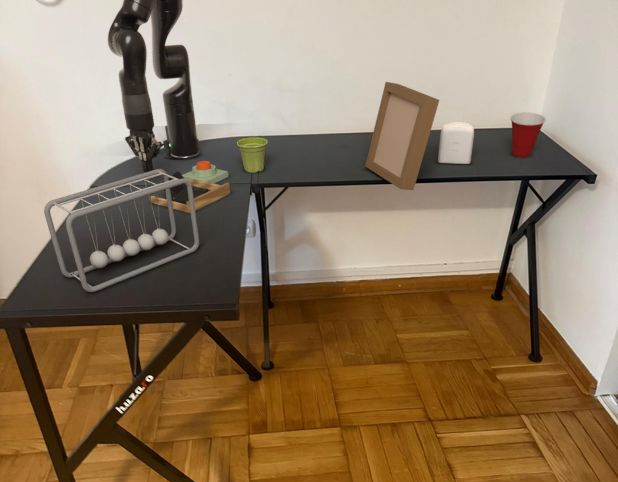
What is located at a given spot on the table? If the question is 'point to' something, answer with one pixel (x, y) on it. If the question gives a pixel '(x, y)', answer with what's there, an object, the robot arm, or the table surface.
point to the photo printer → (456, 143)
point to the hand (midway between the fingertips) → (148, 171)
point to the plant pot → (252, 153)
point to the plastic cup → (525, 132)
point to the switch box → (206, 174)
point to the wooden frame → (201, 200)
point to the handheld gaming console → (183, 190)
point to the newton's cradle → (130, 245)
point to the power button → (203, 165)
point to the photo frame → (401, 134)
